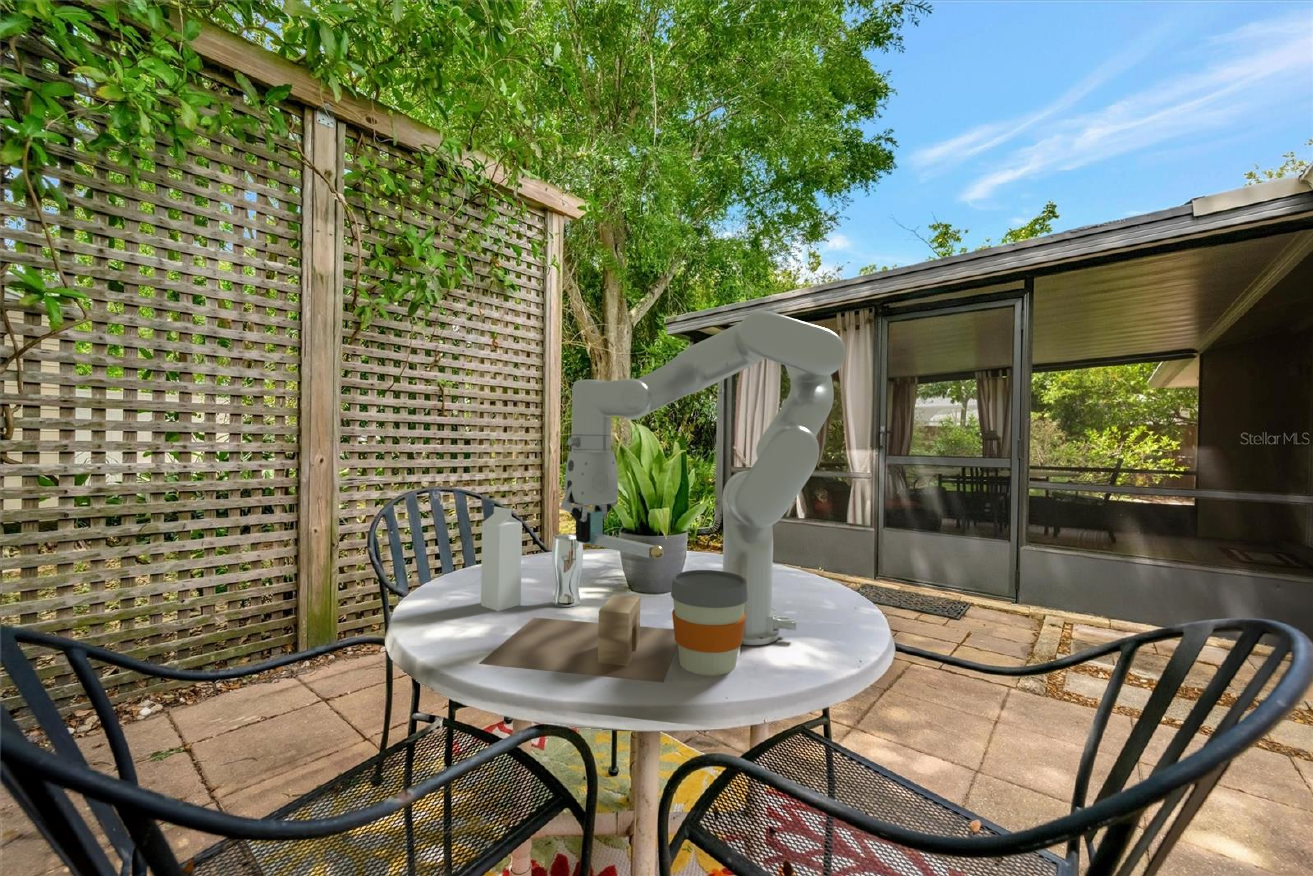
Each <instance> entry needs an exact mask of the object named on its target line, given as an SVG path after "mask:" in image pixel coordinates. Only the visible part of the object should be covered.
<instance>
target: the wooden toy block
mask: <svg viewBox="0 0 1313 876" xmlns="http://www.w3.org/2000/svg"><path fill="white" fill-rule="evenodd" d="M598 623H599V624H598V663H603V664H613V665H624V666H628V665H629V663H630V661H631V659H632V650H637V648H638V646H639V643H640V626H641V596H636V595H625V594H624V595H622V594H612V595H611V596H610V598H608V600H607V601H606V602H605V603H604V604H603V605H602V606H601V608H600V609H599V610H598Z"/></svg>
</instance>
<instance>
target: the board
mask: <svg viewBox="0 0 1313 876" xmlns="http://www.w3.org/2000/svg"><path fill="white" fill-rule="evenodd" d="M598 624H599V622H591V621H581V620H580V621H579V620H578V621H577V620H568V619H567V620H566V619H558V618H557V619H556V618H554V619H553V618H546V617H545V618H544V617H543V618H542V617H533V618H532V619H530V620H529V621H528V622H527V623H525V624H524V625H523V626H522V627H521V628H520V629H518V630H517V631H516V632H515V633H513V634H512V635H511V636H509V638H508V639H506V640H505V641H504V642H503V643H501V644H500V645H499V646H498V647H496V648H495V649H494V650H493V651H492V652H491V653H489V654H488V655H487V656H485V658H483V659H482V660H481V661H480V662H479V663H478V665H487V666H498V667H499V666H500V667H509V668H518V669H527V670H528V669H529V670H537V671H546V672H548V671H549V672H557V673H566V674H567V673H568V674H577V675H587V676H597V677H607V678H616V679H627V680H637V681H646V682H647V681H648V682H656V683H664V681H665V678H666V676H667V672H668V670H669V668H670V665H671V662H672V659H673V657H674V653H675V651H676V648H677V647H678V643H677V642H676V641H675V636H674V628H664V627H653V626H641V625H640V643H639V646H638V648H637V650H632V659H631V661H630V663H629V665H628V666H624V665H613V664H603V663H598Z"/></svg>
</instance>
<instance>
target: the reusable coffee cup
mask: <svg viewBox="0 0 1313 876" xmlns="http://www.w3.org/2000/svg"><path fill="white" fill-rule="evenodd" d="M670 597H671V598H672V599H673V609H672V612H671V613H672V624H673V629H674V636H675V641H676V642H677V649H678V658H679V659H678V660H679V664H680V666H681V667H682V669H684V670H686V671H688V672H690V673H693V674H697V675H702V676H721V675H725V674H730V673H731V672H733V671H734V670H735V669H736V667H737V659H738V652H739V648H740V647H741V646H742V638H743V631H744V625H745V618H746V615H745V613H744V607H745V602H746V601H747V600H748V594H747V582H746V579H745V578H743V577H742V576H740V575H737V574H733V573H729V572H724V571H723V570H713V569H712V570H711V569H696V570H695V569H694V570H686V571H682V572H678V573H676V574H674V575H673V577H672V584H671V591H670Z"/></svg>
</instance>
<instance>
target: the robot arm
mask: <svg viewBox="0 0 1313 876" xmlns="http://www.w3.org/2000/svg"><path fill="white" fill-rule="evenodd" d="M765 359H766V360H767V361H770V362H774V363H776V364H780V365H784V366H785V369H786V371H787V374H788V377H789V381H790V382H789V383H790V391H789V393H788V396H787V398H786V399H785V401H784V402H783V405H782V406H781V408H780V410H779V411H778V413H777V414H776V416H775V417H774V418H773V420H772V421H771V422H770V424H769V425H768V427H766V429H765V430H764V432H763V433H762V435H761V436H760V438H759V440H758V441H757V445H756V448H755V453H756V458H757V459H756V460H755V462H754V464H752V466H751V468H750V469H749V470H742V471H739V472H737V473H735V474H733V475H732V476H731V477H729V478H728V480H727V481H726V484H725V485H724V488H723V492H722V500H721V502H722V503H721V504H722V520H723V544H722V545H723V551H722V571H724V572H729V573H733V574H737V575H740V576H742V577H743V578H745V579H746V582H747V594H748V600H747V601H746V602H745V607H744V613H745V615H746V618H745V625H744V631H743V638H742V644H741V646H742V645H744V646H763V645H767V644H772V643H774V642H776V641H777V640H778V639H779V637H780V629H781V630H786V631H787V630H788V631H796V630H797V620H796V619H792V618H791V619H789V616H784V615H780V616H779V615H777V614H775V613H774V609H773V607H772V606H773V605H772V604H773V602H772V601H773V559H774V558H773V556H774V532H773V530H774V529H773V525H775V524H776V523H778V522H779V521H780V520H781V518H783V516H784V515H785V514H786V513H787V511H788V510H789V509H790V507H791V506H792V504H793V503H794V501H795V500H796V498H797V497H798V496H799V494H800V492H801V491H802V489H803V488H804V486H805V485H806V484H807V482H808V481H809V479H810V477H811V475H813V473H814V471H815V469H816V467H817V464H818V462H819V457H820V444H819V441H818V439H817V435H818V434H819V433H820V430H821V429H822V427H823V425H824V424H825V422H826V420H827V418H828V417H829V415H830V413H831V410H832V408H833V406H834V405H833V403H834V398H835V396H834V395H835V393H834V391H835V390H834V384H833V378H832V374H834V373H836V372H837V371H839V369H840V368H841V367H842V365H843V363H844V361H845V359H846V347H845V343H844V342H843V339H841V337H840V336H839V335H838V334H837V333H835V332H834V331H832V330H830V329H829V328H825V327H822V326H819V325H816V324H813V323H809V322H806V321H802V320H799V319H797V318H792V317H789V316H786V315H782V314H779V313H776V312H772V311H768V310H767V311H765V310H757V311H754V312H751V313H749V314H748V315H746V317H744V319H743V320H741V321H740V322H738V323H736V324H734V325H732V326H730V327H728V328H727V329H724V330H722V331H721V332H719V333H716V334H715V335H712V336H710V337H708V338H705V339H704V340H701V341H699V342H697V343H695V344H693V345H691V346H689V347H686V348H685V349H684V350H682V351H681V352H679V353H678V354H677V355H676V356H675V357H674V358H673V359H671V360H670V361H668V362H667V363H665V364H664V365H662V366H660V367H658V368H657V369H655V370H653V371H651V372H649V373H647V374H645V375H643V376H641V377H638V378H624V379H617V380H616V379H614V380H602V379H580V380H576V381H575V382H574V383H573V385H572V391H571V392H572V396H571V401H572V402H571V408H572V409H571V438H568V439H567V445H568V446H569V447H571V451H569V453H568V456H567V461H566V466H565V474H564V475H565V476H564V486H563V487H564V492H563V493H564V498H563V499H562V502H561V504H560V509H562V510H563V511H565V512H568V514H570V516H571V517H572V520H574V521H575V534H576V540H577V541H579V542H584V543H583V544H585V543H588V541H589V522H588V521H586V520H587V510H588V509H589V507H588V506H593V509H592V510H597V511H603V534H604V535H605V520H606V519H608V514H609V513H610V511H611V510H612V509H613V508H614V507H615V506H616V505H617V504H618V503H619V478H618V477H619V476H618V466H617V465H618V464H617V460H616V456H615V455H616V454H615V452H614V451H612V417H618V418H623V419H627V420H638V419H641V418H643V417H645V416H647V415H648V414H651V413H654V411H657V410H659V409H661V408H664V407H665V406H667V405H669V404H672V403H673V402H675V401H677V400H680V399H682V398H684V397H686V396H689V395H693V394H696V393H699V392H700V391H702V390H705V389H706V388H709V387H712V386H713V385H715V384H717V383H719V382H722V381H723V380H725V379H728V378H729V377H731V376H733V375H735V374H737V373H740V372H742V371H744V370H746V369H748V368H751V367H753V366H754V365H756V364H759V363H761V362H762V361H763V360H765ZM580 510H581V512H580Z"/></svg>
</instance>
